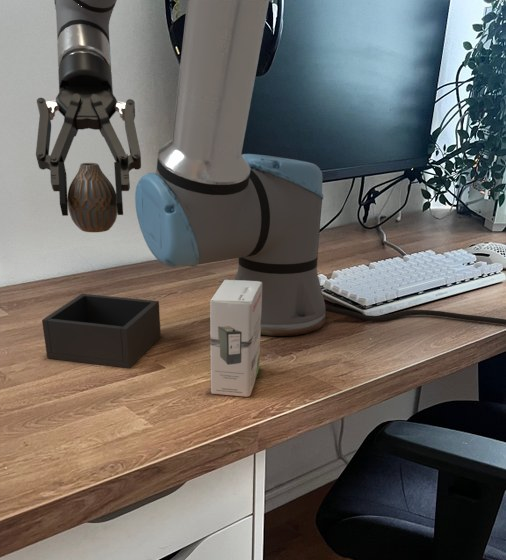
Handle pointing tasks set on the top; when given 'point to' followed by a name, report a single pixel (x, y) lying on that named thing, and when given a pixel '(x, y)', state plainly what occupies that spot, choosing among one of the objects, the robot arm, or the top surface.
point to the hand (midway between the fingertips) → (92, 209)
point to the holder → (102, 330)
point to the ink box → (235, 337)
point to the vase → (92, 199)
